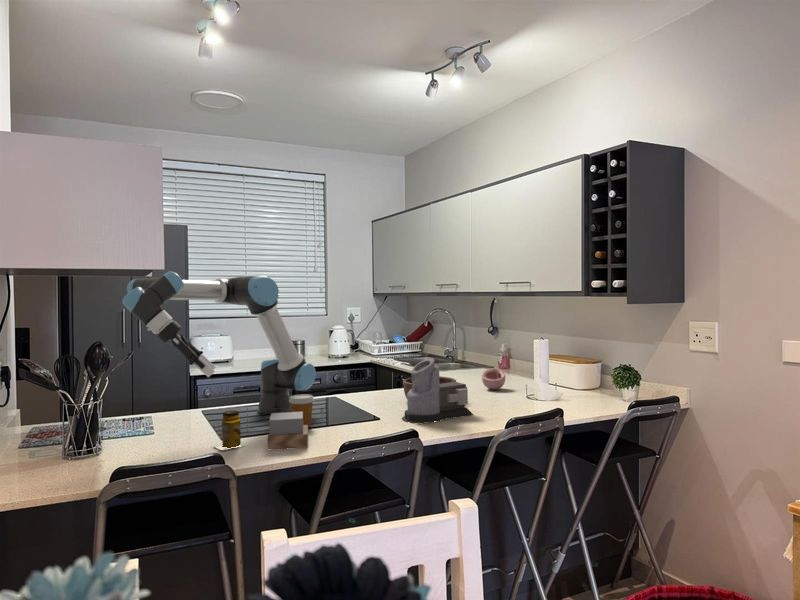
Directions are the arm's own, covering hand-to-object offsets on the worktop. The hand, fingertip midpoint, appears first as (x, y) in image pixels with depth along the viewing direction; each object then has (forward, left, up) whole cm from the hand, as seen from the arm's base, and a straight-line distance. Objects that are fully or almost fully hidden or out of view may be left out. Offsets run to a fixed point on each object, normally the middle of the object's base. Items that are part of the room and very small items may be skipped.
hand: (212, 372), depth 185 cm
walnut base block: (+19, +15, -26) cm, 36 cm away
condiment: (+3, +4, -26) cm, 27 cm away
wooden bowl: (+37, +99, -26) cm, 109 cm away
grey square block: (+19, +15, -21) cm, 32 cm away
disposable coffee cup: (+10, +36, -26) cm, 45 cm away
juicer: (+51, +72, -26) cm, 92 cm away
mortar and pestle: (+56, +139, -26) cm, 152 cm away
